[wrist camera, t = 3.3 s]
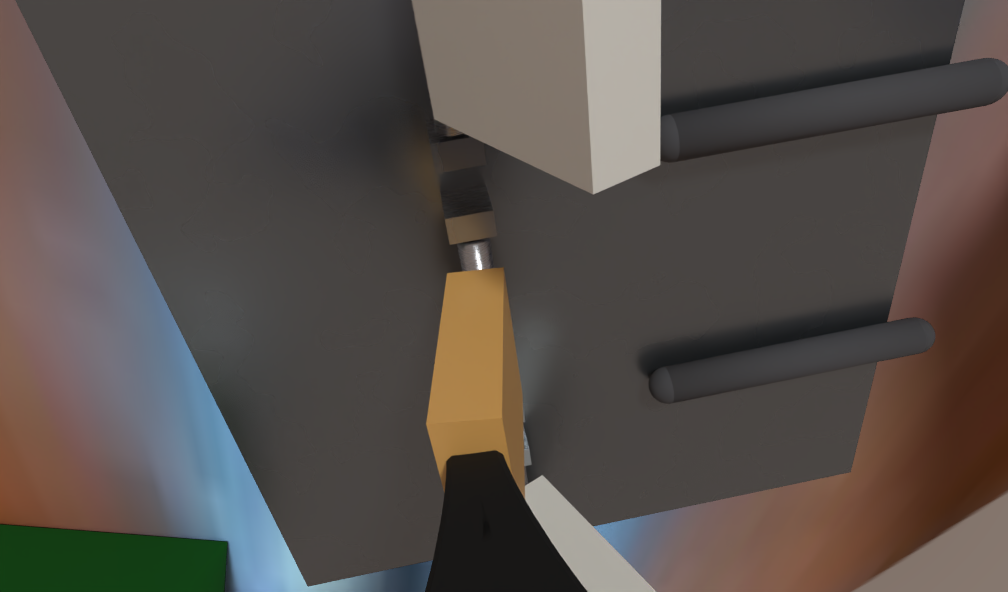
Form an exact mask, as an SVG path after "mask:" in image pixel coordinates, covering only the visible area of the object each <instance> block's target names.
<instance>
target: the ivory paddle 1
mask: <svg viewBox="0 0 1008 592" xmlns="http://www.w3.org/2000/svg"><path fill="white" fill-rule="evenodd" d="M412 4H413V9H414V14H415V20H416V25H417V30H418V36H419V41H420V46H421V51H422V57H423V62H424V67H425V73H426V78H427V83H428V88H429V94H430V99H431V104H432V110H433V115H434V119H435V120H437V121H439V122H441V123H443V124H445V125H447V126H450V127H452V128H454V129H456V130H458V131H460V132H462V133H464V134H466V135H469V136H471V137H473V138H475V139H477V140H479V141H481V142H483V143H485V144H488V145H490V146H492V147H494V148H496V149H498V150H500V151H502V152H504V153H507V154H509V155H511V156H513V157H515V158H517V159H519V160H521V161H523V162H526V163H528V164H530V165H532V166H534V167H536V168H538V169H540V170H542V171H545V172H547V173H549V174H551V175H553V176H555V177H557V178H559V179H561V180H564V181H566V182H568V183H570V184H572V185H574V186H576V187H578V188H580V189H583V190H585V191H587V192H589V193H591V194H596V193H598V192H600V191H602V190H605V189H607V188H609V187H612V186H614V185H616V184H618V183H621V182H623V181H625V180H628V179H630V178H632V177H634V176H637V175H639V174H641V173H643V172H646V171H648V170H650V169H653V168H655V167H657V166H659V165H660V114H661V0H412Z"/></svg>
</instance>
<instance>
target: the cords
mask: <svg viewBox="0 0 1008 592" xmlns="http://www.w3.org/2000/svg"><path fill="white" fill-rule="evenodd" d="M1007 91H1008V66H1007V65H1006V64H1005V63H1004V62H1002V61H1000V60H998V59H994V58H982V59H977V60H971V61H966V62H960V63H954V64H949V65H943V66H937V67H932V68H926V69H921V70H915V71H909V72H904V73H898V74H893V75H887V76H881V77H876V78H870V79H864V80H859V81H853V82H848V83H842V84H836V85H831V86H825V87H820V88H814V89H808V90H803V91H797V92H791V93H786V94H780V95H775V96H769V97H763V98H758V99H752V100H747V101H741V102H735V103H730V104H724V105H719V106H713V107H707V108H702V109H696V110H690V111H685V112H679V113H674V114H668V115H664V116H662V117H660V161H663V162H668V163H672V162H678V161H684V160H689V159H695V158H700V157H706V156H711V155H717V154H722V153H728V152H733V151H739V150H744V149H750V148H755V147H761V146H766V145H772V144H777V143H783V142H788V141H794V140H799V139H805V138H810V137H816V136H821V135H827V134H832V133H838V132H843V131H849V130H854V129H860V128H865V127H871V126H876V125H882V124H887V123H893V122H898V121H903V120H909V119H914V118H920V117H925V116H931V115H936V114H942V113H947V112H953V111H958V110H964V109H969V108H975V107H980V106H986V105H989V104H992V103H994V102H996V101H998V100H999V99H1001V98H1002V97H1003V96H1004V95H1005V94H1006V93H1007ZM934 341H935V331H934V329H933V327H932V326H931V325H930V324H929V323H928V322H927V321H925V320H923V319H920V318H914V317H913V318H906V319H901V320H896V321H891V322H886V323H881V324H876V325H871V326H865V327H860V328H855V329H850V330H845V331H840V332H835V333H830V334H825V335H820V336H815V337H810V338H805V339H800V340H795V341H790V342H785V343H780V344H775V345H770V346H765V347H760V348H755V349H750V350H745V351H740V352H735V353H730V354H725V355H720V356H715V357H710V358H705V359H699V360H694V361H689V362H684V363H679V364H674V365H669V366H664V367H661V368H658V369H656V370H655V371H654V372H653V373H652V374H651V376H650V378H649V383H648V384H649V391H650V393H651V395H652V396H653V397H654V398H655V399H656V400H657V401H659V402H661V403H666V404H671V403H676V402H681V401H686V400H691V399H696V398H701V397H706V396H711V395H716V394H721V393H726V392H731V391H736V390H741V389H746V388H751V387H756V386H761V385H766V384H770V383H775V382H780V381H785V380H790V379H795V378H800V377H805V376H810V375H815V374H820V373H825V372H830V371H835V370H840V369H845V368H850V367H855V366H860V365H865V364H869V363H874V362H879V361H884V360H889V359H894V358H899V357H904V356H909V355H914V354H919V353H922V352H925V351H927V350H928V349H929V348H930V347H931V346H932V345H933V343H934Z"/></svg>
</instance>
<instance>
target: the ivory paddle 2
mask: <svg viewBox="0 0 1008 592" xmlns="http://www.w3.org/2000/svg"><path fill="white" fill-rule="evenodd" d="M525 500H526V502H527V504H528V505H529V507H530V509H531V510H532V512H533V514H534V515H535V517H536V519H537V520H538V522H539V523H540V525H541V526H542V528H543V529H544V531H545V533H546V534H547V536H548V537H549V539H550V540H551V542H552V543H553V545H554V546H555V548H556V549H557V551H558V552H559V554H560V555H561V556H562V558H563V559H564V561H565V562H566V563H567V565H568V566H569V567H570V569H571V570H572V572H573V573H574V574H575V576H576V577H577V578H578V580H579V581H580V582H581V584H582V585H583V586H584V588H585V589H586V590H587V592H656V591H655V590H654V589H653V588H652V587H651V586H650V585H649V584H648V583H647V582H646V581H645V580H644V579H643V578H642V577H641V576H640V575H639V574H638V572H637V571H636V570H635V569H634V568H633V567H632V566H631V565H630V564H629V563H628V562H627V561H626V560H625V559H624V558H623V557H622V556H621V555H620V554H619V553H618V552H617V551H616V550H615V549H614V548H613V547H612V546H611V545H610V544H609V543H608V542H607V541H606V540H605V539H604V538H603V537H602V536H601V535H600V534H599V532H598V531H597V530H596V529H595V528H594V527H593V526H592V525H591V524H590V523H589V522H588V521H587V520H586V519H585V518H584V517H583V516H582V515H581V514H580V513H579V512H578V511H577V510H576V509H575V508H574V507H573V506H572V505H571V504H570V503H569V502H568V501H567V500H566V499H565V498H564V497H563V496H562V495H561V494H560V492H559V491H558V490H557V489H556V488H555V487H554V486H553V485H552V484H551V483H550V482H549V481H548V480H547V479H546V478H545V477H544V476H543V475H542V476H540V477H538V478H537V479H535V480H534V481H532V482H530V483H529V484H527V485H526V486H525Z"/></svg>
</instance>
